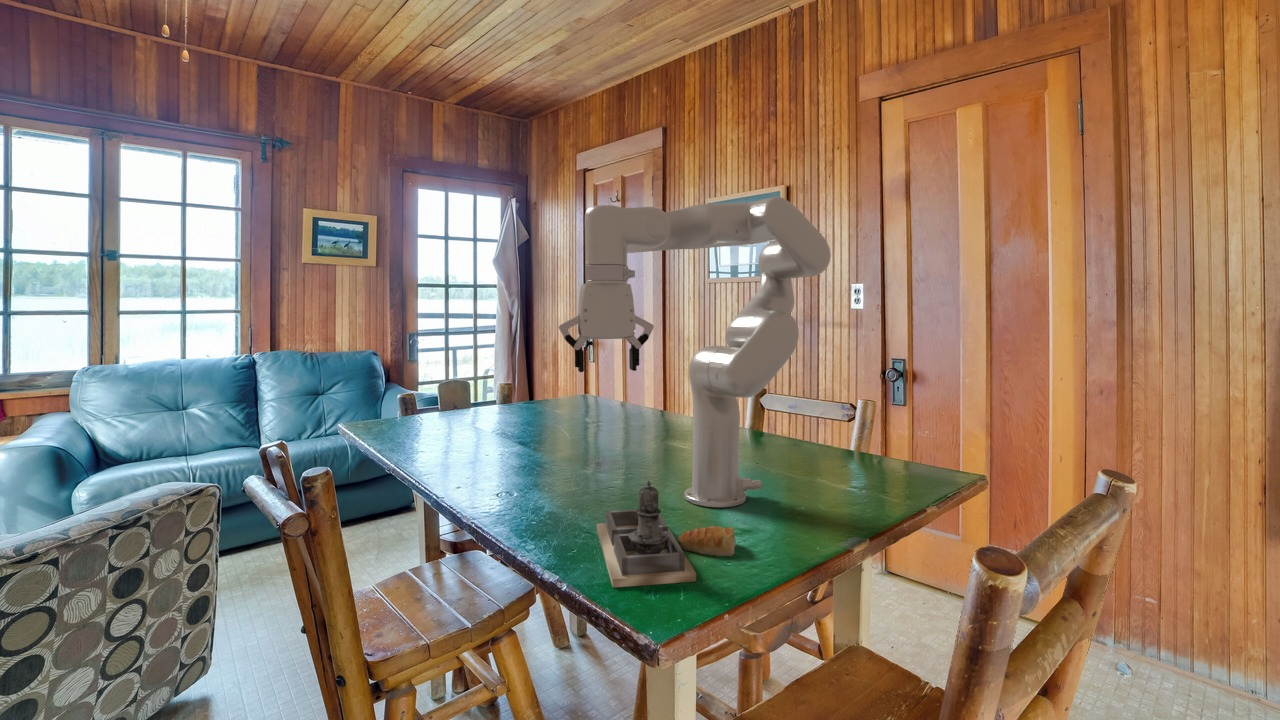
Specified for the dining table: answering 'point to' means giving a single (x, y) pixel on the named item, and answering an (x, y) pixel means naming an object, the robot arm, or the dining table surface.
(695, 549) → the pastry
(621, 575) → the collar board
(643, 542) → the salt shaker
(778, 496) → the dining table surface
